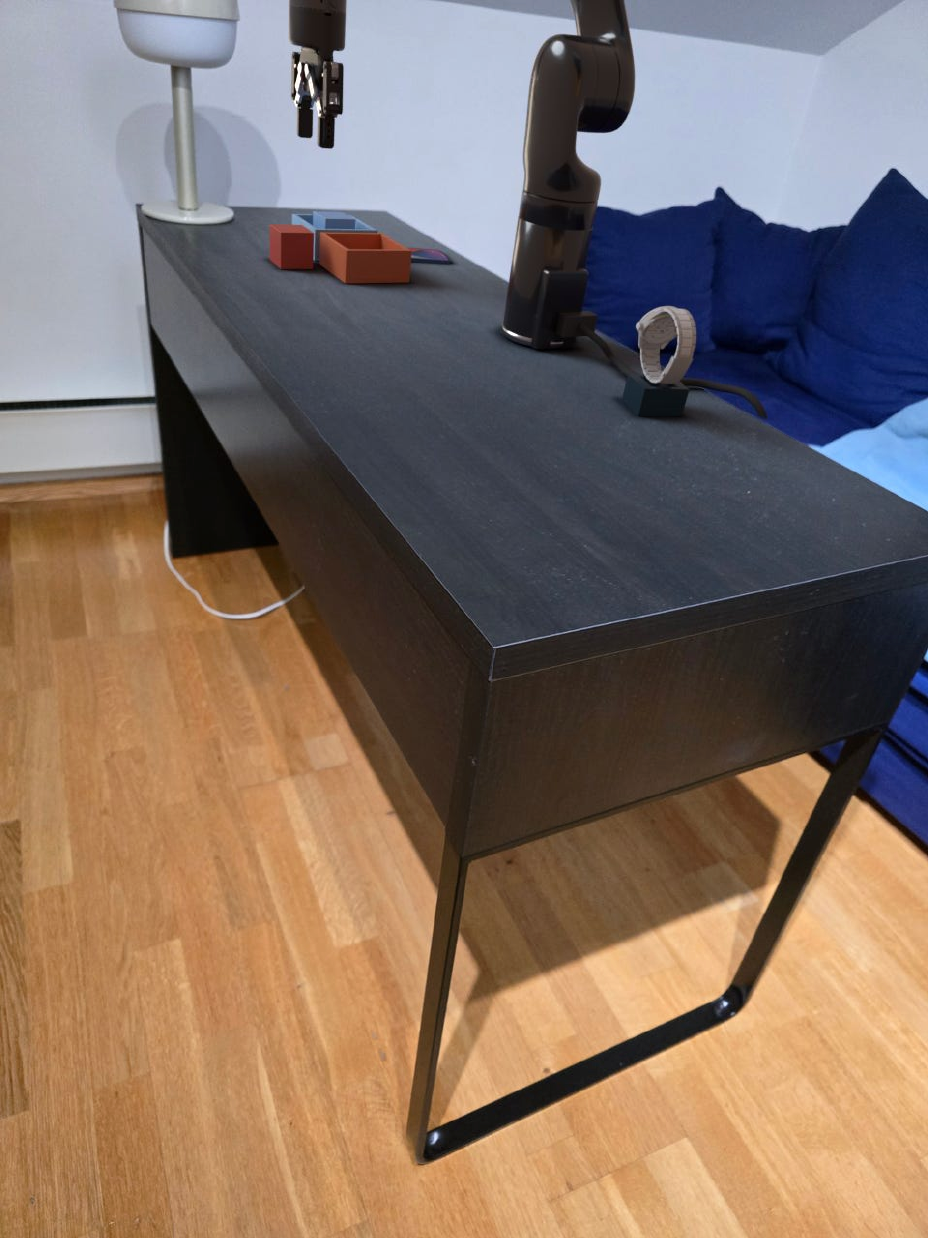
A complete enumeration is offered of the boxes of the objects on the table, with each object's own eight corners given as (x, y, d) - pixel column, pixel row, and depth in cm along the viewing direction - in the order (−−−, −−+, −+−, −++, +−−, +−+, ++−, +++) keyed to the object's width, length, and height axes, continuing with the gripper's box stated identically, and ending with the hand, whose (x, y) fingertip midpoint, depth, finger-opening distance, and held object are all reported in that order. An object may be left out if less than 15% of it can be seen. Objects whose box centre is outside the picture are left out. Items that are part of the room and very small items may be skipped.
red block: (313, 268, 130) (314, 232, 127) (280, 269, 128) (281, 232, 125) (301, 259, 134) (301, 224, 131) (269, 259, 131) (269, 224, 128)
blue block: (353, 252, 139) (355, 219, 136) (324, 252, 137) (325, 218, 134) (341, 244, 142) (343, 211, 140) (312, 244, 140) (313, 210, 137)
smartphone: (451, 267, 143) (452, 260, 143) (361, 261, 139) (361, 254, 138) (438, 256, 149) (439, 249, 149) (351, 249, 144) (352, 242, 144)
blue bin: (375, 260, 139) (377, 230, 136) (314, 260, 134) (315, 229, 132) (350, 244, 146) (351, 214, 143) (291, 243, 141) (291, 213, 138)
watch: (656, 394, 103) (681, 298, 97) (689, 422, 97) (718, 321, 91) (613, 394, 101) (636, 296, 95) (644, 422, 95) (670, 319, 89)
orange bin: (409, 282, 131) (411, 250, 128) (345, 283, 126) (346, 250, 123) (380, 263, 138) (382, 233, 135) (319, 263, 133) (319, 232, 130)
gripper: (273, -2, 120) (273, 132, 129) (309, 4, 110) (307, 149, 119) (325, 5, 123) (322, 136, 132) (365, 12, 113) (358, 152, 123)
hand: (315, 142), depth 126 cm, fingers open, 8 cm apart
